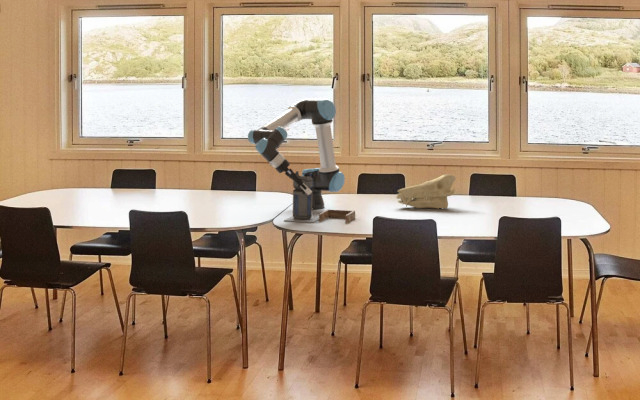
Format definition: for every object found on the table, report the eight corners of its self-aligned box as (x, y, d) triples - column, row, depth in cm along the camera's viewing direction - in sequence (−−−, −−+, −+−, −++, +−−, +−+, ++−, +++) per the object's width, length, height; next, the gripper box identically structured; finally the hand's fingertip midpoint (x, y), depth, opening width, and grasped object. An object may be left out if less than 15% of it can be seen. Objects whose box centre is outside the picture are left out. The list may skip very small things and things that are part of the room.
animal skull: (457, 209, 440) (458, 175, 438) (398, 210, 436) (399, 175, 433) (449, 206, 455) (451, 173, 453) (392, 206, 451) (393, 173, 449)
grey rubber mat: (294, 216, 405) (294, 215, 405) (322, 218, 401) (322, 216, 401) (283, 221, 388) (283, 220, 388) (313, 222, 384) (313, 221, 384)
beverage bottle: (318, 218, 396) (319, 171, 393) (301, 220, 387) (302, 172, 383) (304, 216, 403) (305, 169, 400) (287, 218, 393) (288, 170, 390)
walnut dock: (327, 216, 405) (327, 209, 405) (354, 218, 401) (355, 210, 401) (319, 221, 388) (319, 214, 388) (347, 223, 384) (347, 215, 384)
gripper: (272, 166, 401) (299, 194, 405) (277, 170, 376) (306, 199, 381) (282, 156, 401) (309, 184, 405) (288, 159, 376) (317, 189, 381)
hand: (308, 191), depth 393 cm, fingers open, 13 cm apart
